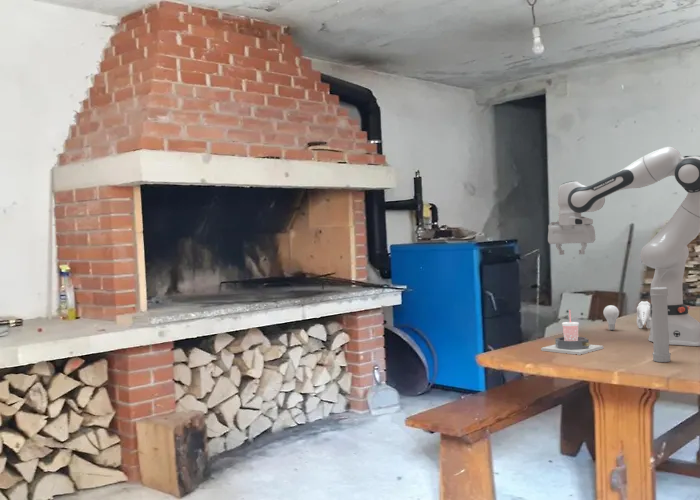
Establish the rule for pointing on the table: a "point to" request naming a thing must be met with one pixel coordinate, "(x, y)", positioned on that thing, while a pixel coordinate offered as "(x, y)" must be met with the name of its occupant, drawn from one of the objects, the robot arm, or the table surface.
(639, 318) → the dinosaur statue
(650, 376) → the table surface
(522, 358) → the table surface
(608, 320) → the lightbulb
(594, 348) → the base plate
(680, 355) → the table surface
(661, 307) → the pipe
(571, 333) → the beverage cup
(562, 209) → the robot arm
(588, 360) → the table surface
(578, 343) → the collar
